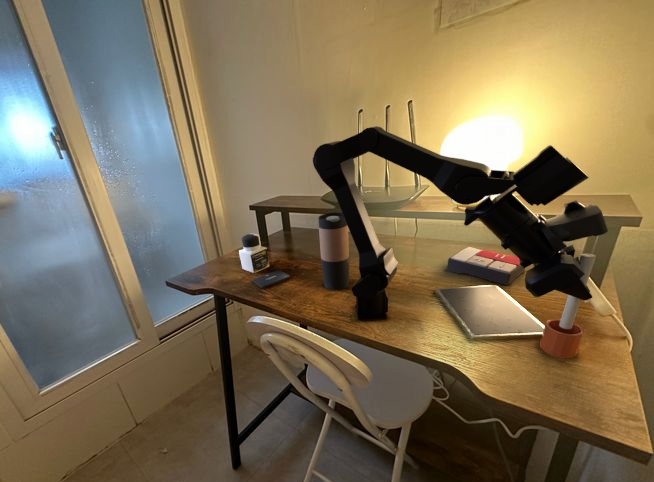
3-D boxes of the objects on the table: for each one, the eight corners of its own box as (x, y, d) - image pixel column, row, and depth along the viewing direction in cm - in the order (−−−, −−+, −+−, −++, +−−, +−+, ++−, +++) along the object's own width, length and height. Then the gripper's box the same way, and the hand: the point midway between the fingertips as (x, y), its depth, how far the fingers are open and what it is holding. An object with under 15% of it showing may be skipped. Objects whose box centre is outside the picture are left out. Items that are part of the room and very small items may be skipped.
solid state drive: (252, 281, 96) (252, 279, 96) (278, 271, 100) (278, 269, 100) (262, 288, 91) (262, 286, 90) (290, 277, 95) (290, 275, 94)
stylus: (563, 329, 50) (586, 257, 45) (556, 324, 52) (578, 253, 46) (574, 329, 50) (599, 256, 45) (567, 323, 52) (590, 252, 46)
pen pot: (551, 360, 51) (559, 336, 49) (532, 342, 56) (539, 319, 54) (583, 359, 51) (592, 335, 49) (562, 341, 55) (569, 318, 53)
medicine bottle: (254, 273, 102) (247, 240, 97) (242, 269, 107) (235, 236, 102) (270, 266, 106) (264, 233, 101) (257, 262, 111) (252, 230, 106)
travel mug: (333, 276, 92) (329, 211, 83) (355, 282, 87) (353, 213, 78) (317, 286, 87) (311, 218, 79) (339, 293, 82) (336, 221, 74)
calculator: (511, 272, 72) (448, 256, 84) (506, 287, 74) (445, 270, 86) (528, 258, 78) (467, 244, 89) (524, 272, 80) (464, 257, 91)
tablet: (471, 341, 58) (471, 336, 58) (434, 292, 76) (435, 288, 76) (552, 338, 56) (554, 333, 56) (495, 288, 74) (496, 284, 73)
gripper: (582, 204, 37) (684, 298, 35) (563, 177, 50) (637, 244, 49) (493, 257, 44) (573, 336, 43) (497, 221, 58) (559, 281, 56)
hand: (587, 296), depth 48 cm, fingers closed on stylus, 1 cm apart
